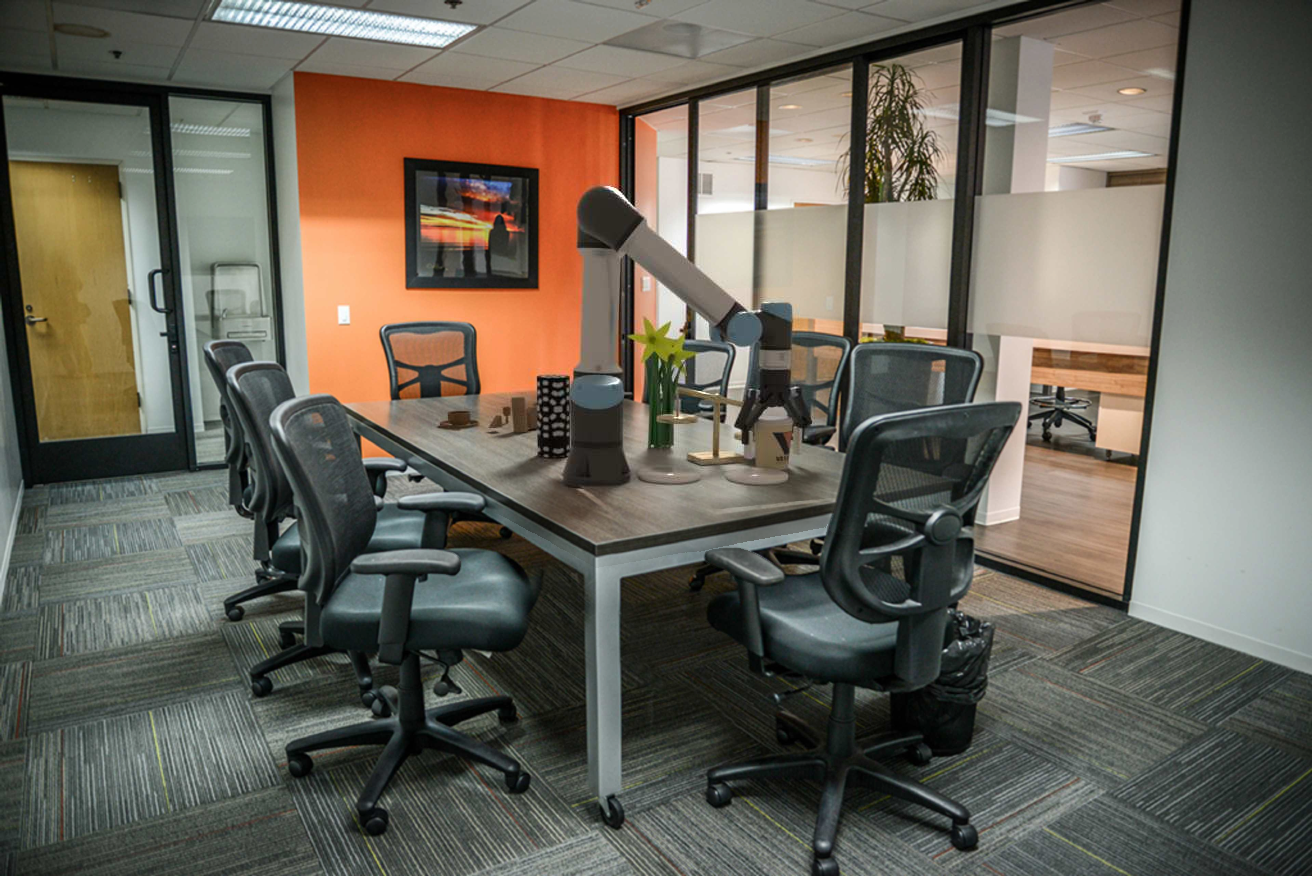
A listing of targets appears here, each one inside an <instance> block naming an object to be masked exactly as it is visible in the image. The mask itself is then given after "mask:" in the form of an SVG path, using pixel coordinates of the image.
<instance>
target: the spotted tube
mask: <svg viewBox="0 0 1312 876" xmlns="http://www.w3.org/2000/svg"><path fill="white" fill-rule="evenodd" d="M570 388H571V376H570V375H566V374H540V375H537V376H536V403H537V427H536V428H537V429H536V430H537V433H536V434H537V437H536V439H537V441H536V443H537V446H536V447H537V456H539V457H542V458H564V457H568V455H569V452H570V448H571V420H570V394H569V392H570Z"/></svg>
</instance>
